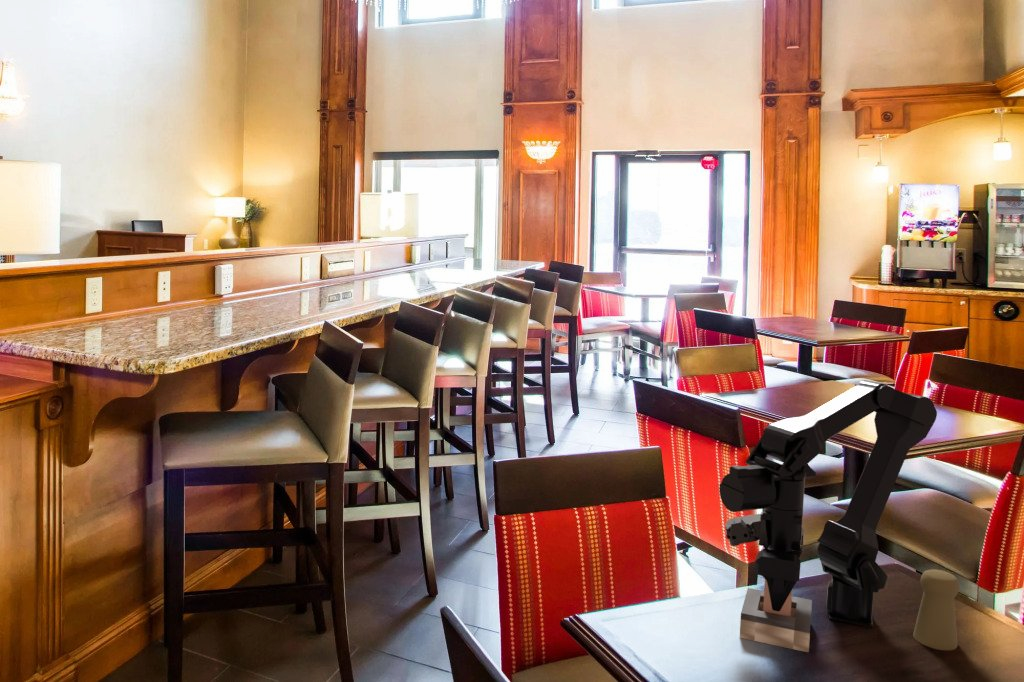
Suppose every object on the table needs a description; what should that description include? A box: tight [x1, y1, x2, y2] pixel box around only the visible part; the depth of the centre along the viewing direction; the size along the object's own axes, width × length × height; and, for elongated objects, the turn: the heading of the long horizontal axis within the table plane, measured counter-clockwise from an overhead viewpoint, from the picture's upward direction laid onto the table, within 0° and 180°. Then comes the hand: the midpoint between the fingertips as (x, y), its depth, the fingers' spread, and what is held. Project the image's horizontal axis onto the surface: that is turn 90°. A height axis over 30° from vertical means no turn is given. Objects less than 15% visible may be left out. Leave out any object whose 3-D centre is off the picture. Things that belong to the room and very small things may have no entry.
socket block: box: [739, 587, 813, 653], centre depth 115 cm, size 10×10×4 cm
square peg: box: [763, 578, 793, 617], centre depth 115 cm, size 4×4×10 cm
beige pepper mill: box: [912, 569, 960, 651], centre depth 112 cm, size 6×6×11 cm
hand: (777, 600), depth 114 cm, fingers open, 7 cm apart
